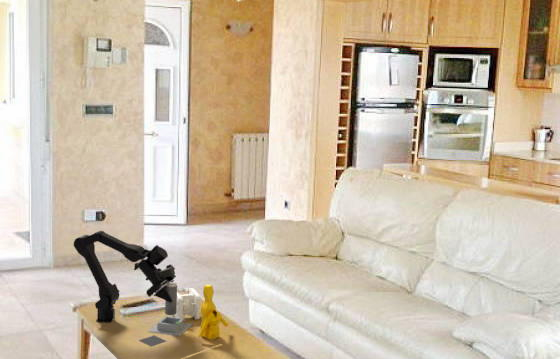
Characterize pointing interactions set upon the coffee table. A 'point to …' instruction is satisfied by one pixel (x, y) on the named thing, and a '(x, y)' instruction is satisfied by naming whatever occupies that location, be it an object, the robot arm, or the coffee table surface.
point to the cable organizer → (188, 304)
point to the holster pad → (152, 340)
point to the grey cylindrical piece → (172, 291)
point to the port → (171, 326)
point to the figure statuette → (210, 316)
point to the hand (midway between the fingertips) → (174, 300)
